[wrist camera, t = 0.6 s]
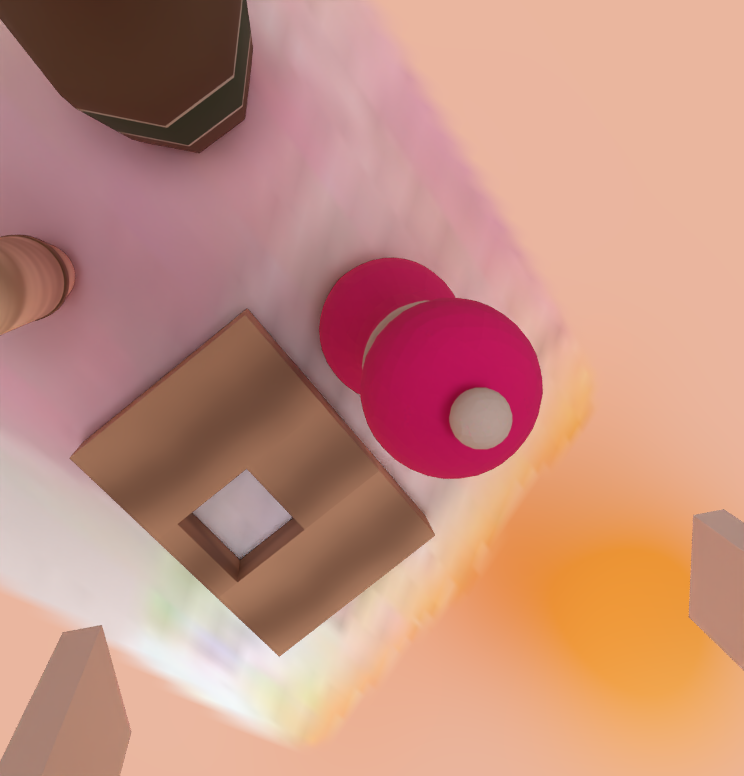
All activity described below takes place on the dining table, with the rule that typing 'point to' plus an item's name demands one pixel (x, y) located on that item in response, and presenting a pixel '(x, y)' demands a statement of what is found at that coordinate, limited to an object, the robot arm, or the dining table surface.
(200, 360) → the board
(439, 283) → the pepper mill
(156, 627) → the dining table surface
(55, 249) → the peg
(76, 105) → the beer bottle
